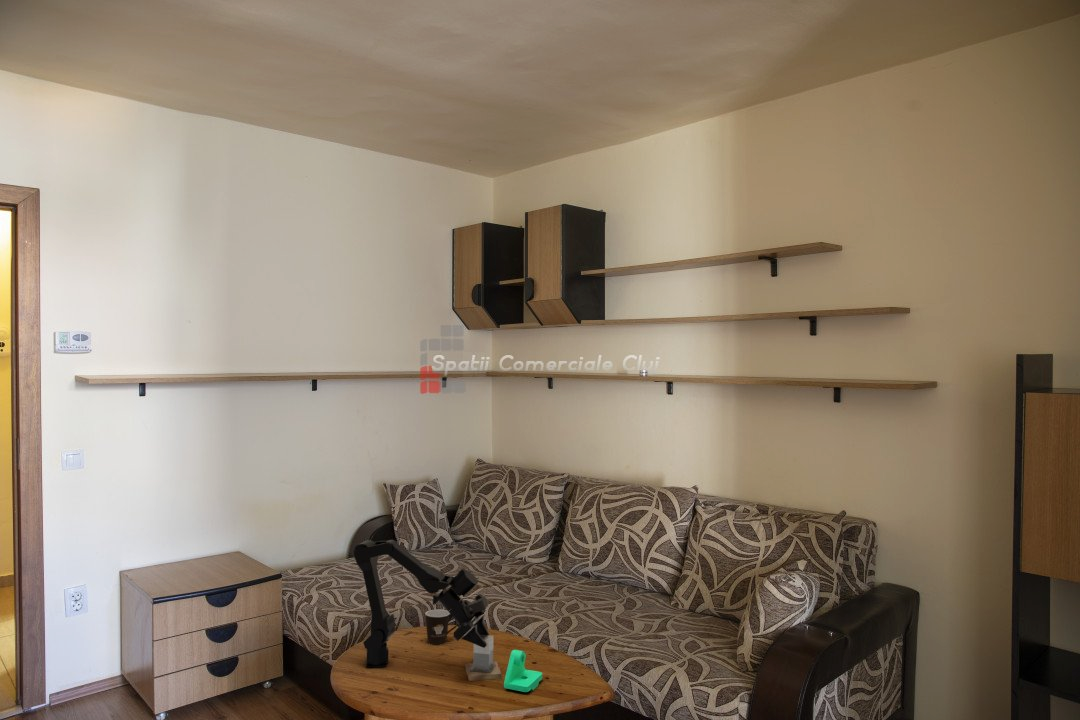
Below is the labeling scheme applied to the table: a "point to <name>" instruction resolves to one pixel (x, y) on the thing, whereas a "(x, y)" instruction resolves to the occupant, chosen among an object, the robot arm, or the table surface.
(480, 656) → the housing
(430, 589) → the robot arm
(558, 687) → the table surface
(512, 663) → the camera mount
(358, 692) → the table surface
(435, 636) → the coffee mug
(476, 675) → the stand
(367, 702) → the table surface
